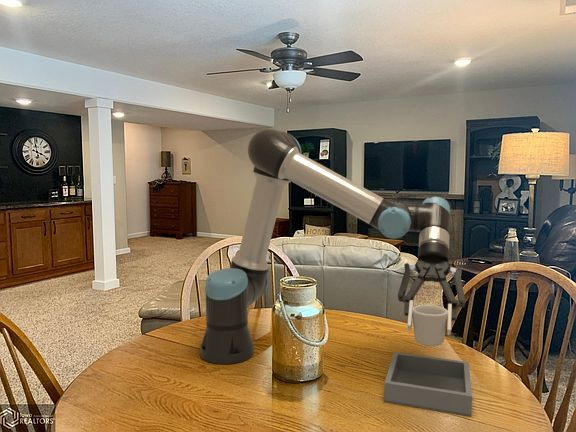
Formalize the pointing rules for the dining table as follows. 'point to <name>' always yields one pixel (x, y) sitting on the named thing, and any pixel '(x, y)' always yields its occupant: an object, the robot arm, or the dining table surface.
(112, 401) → the dining table surface
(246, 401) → the dining table surface
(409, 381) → the tray
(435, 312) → the cup
